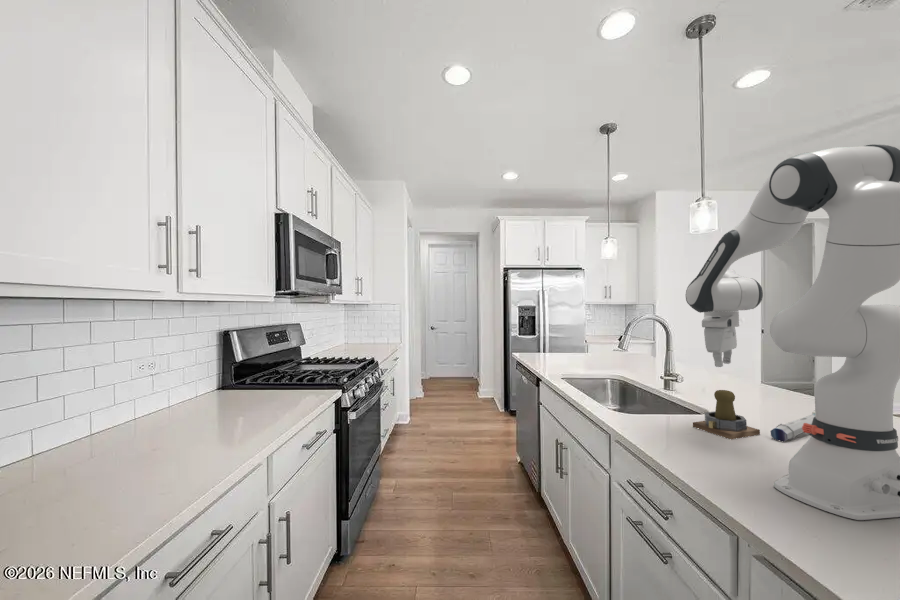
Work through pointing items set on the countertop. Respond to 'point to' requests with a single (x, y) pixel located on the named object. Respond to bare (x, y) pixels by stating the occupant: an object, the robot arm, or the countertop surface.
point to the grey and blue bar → (791, 428)
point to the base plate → (727, 434)
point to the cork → (725, 405)
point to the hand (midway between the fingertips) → (723, 365)
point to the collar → (725, 423)
